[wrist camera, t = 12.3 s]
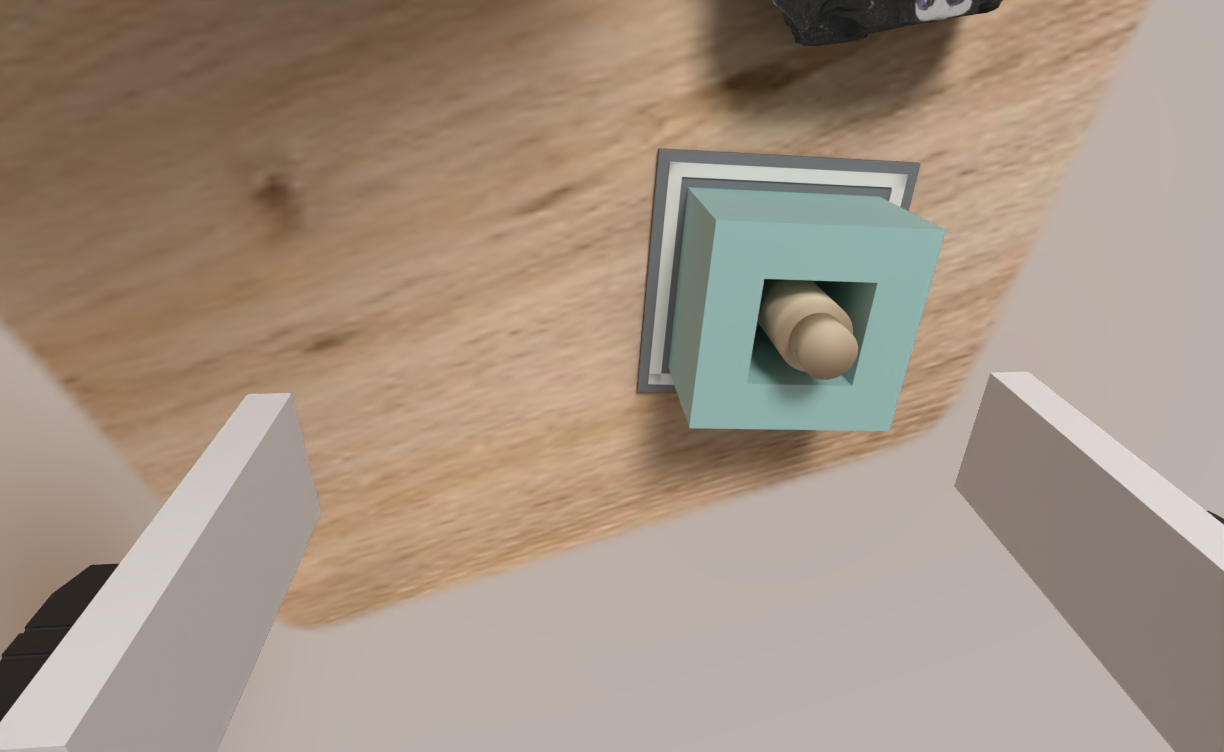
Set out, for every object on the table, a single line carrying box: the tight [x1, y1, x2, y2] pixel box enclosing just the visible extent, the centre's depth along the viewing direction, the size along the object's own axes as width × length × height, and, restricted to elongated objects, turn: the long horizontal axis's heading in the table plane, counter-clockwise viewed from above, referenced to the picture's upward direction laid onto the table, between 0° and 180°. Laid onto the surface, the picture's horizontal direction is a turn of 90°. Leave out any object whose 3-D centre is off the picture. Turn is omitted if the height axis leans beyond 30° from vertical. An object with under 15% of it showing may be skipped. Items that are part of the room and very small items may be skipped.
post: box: [757, 279, 858, 380], centre depth 30 cm, size 3×3×8 cm
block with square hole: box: [668, 187, 946, 431], centre depth 31 cm, size 9×9×6 cm
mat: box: [637, 148, 920, 393], centre depth 33 cm, size 12×12×1 cm
